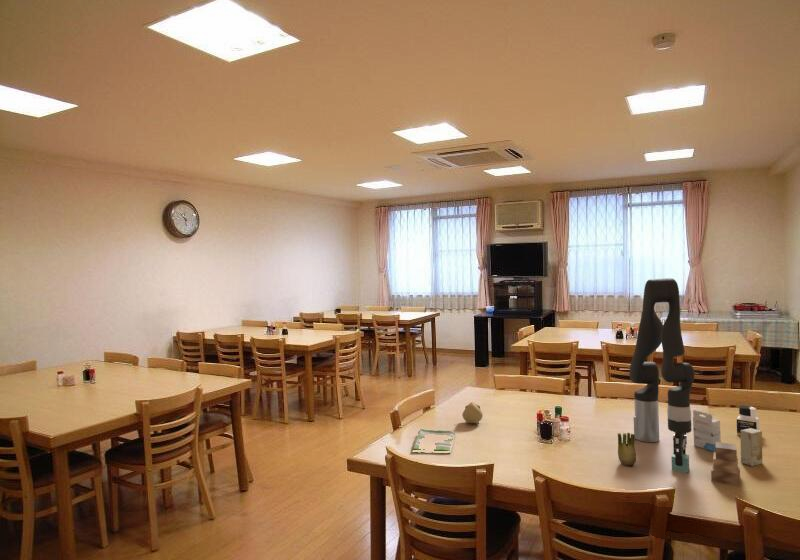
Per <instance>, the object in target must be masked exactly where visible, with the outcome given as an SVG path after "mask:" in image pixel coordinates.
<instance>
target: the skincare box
mask: <svg viewBox="0 0 800 560" xmlns="http://www.w3.org/2000/svg"><path fill="white" fill-rule="evenodd" d="M740 432H741V435H740V463H742V464H745V465H749V466H751V467H754V466H759V465H761V464H763V431H762V430H760V429H759V430H756V429H752V428H749V429H744V430H740Z"/></svg>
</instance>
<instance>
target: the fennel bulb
mask: <svg viewBox="0 0 800 560" xmlns="http://www.w3.org/2000/svg"><path fill="white" fill-rule="evenodd" d="M634 438H635V435H634V433H630V432H627V433H624V432H623V433H622V434H621V432H618V433H617V457H618V460H619V462H620V463H621V464H622V465H624V466H628V467H632V466H633V465H635V464H636V462H637V452H636V451H637V450H636V446H635V439H634Z"/></svg>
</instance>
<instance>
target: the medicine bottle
mask: <svg viewBox="0 0 800 560" xmlns="http://www.w3.org/2000/svg"><path fill="white" fill-rule="evenodd" d="M738 411H739V412H738V413H739V415H738V416H737V417H736V435H737V436H741V432H740V430H744V429H749V428H752V429H756V430H760V417H757V408H756V407H753V406H750V405H740V406H739V408H738Z"/></svg>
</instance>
